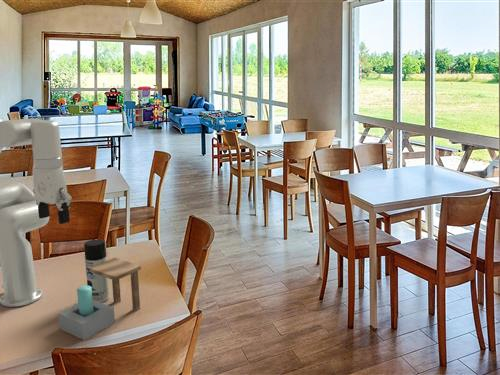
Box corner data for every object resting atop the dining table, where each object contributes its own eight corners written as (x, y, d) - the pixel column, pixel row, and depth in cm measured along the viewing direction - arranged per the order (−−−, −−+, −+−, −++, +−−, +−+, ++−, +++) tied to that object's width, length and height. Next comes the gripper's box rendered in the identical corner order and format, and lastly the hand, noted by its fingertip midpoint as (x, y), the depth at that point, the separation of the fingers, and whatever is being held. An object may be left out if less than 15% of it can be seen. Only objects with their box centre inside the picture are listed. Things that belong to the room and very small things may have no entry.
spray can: (84, 299, 149) (79, 242, 145) (102, 292, 155) (97, 237, 150) (96, 305, 145) (91, 247, 141) (113, 298, 151) (109, 241, 146)
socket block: (59, 328, 132) (58, 313, 131) (91, 312, 141) (89, 298, 140) (84, 340, 126) (82, 323, 125) (115, 322, 135) (113, 307, 134)
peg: (77, 326, 133) (73, 289, 130) (88, 321, 136) (85, 284, 133) (86, 330, 131) (82, 292, 128) (97, 324, 134) (94, 287, 131)
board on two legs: (92, 311, 142) (89, 268, 139) (117, 298, 150) (114, 257, 147) (118, 321, 136) (115, 277, 132) (143, 308, 144) (140, 265, 140)
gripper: (19, 162, 132) (25, 218, 136) (54, 168, 123) (60, 228, 127) (42, 159, 138) (48, 212, 142) (78, 164, 129) (83, 221, 133)
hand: (54, 220), depth 134 cm, fingers open, 9 cm apart
